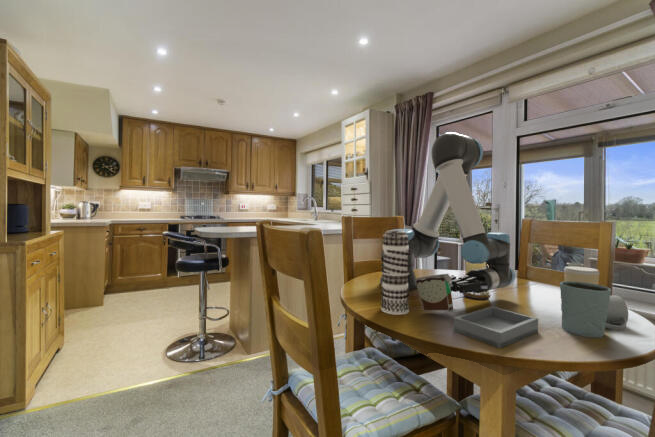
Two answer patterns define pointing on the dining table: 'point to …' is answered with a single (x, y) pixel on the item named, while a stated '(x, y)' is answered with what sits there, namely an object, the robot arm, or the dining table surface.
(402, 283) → the decorative candle
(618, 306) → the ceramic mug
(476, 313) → the tray
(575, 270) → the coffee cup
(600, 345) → the dining table surface
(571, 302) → the teal tapered cylinder
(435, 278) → the food container
